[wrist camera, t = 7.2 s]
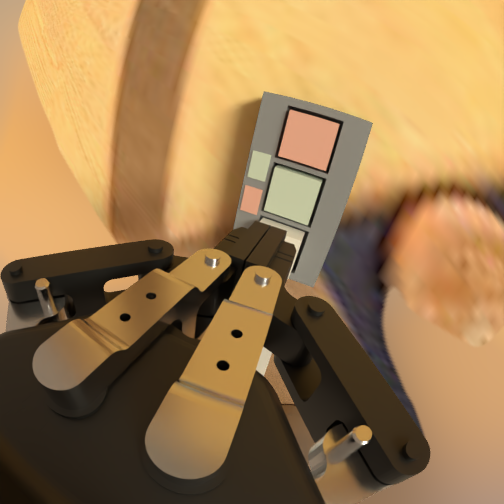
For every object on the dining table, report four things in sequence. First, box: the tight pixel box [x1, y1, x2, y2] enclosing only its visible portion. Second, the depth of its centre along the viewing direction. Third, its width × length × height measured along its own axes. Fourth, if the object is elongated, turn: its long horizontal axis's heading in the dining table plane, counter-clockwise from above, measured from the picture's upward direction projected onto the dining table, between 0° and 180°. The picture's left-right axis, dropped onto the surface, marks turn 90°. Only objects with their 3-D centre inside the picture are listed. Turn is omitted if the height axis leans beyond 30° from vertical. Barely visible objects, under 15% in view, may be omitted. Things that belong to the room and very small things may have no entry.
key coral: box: [278, 110, 340, 171], centre depth 21 cm, size 4×4×2 cm
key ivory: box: [260, 218, 305, 278], centre depth 25 cm, size 4×4×2 cm
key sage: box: [264, 164, 323, 225], centre depth 24 cm, size 4×4×2 cm
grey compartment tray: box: [233, 92, 373, 287], centre depth 24 cm, size 16×9×3 cm, turn 168°
